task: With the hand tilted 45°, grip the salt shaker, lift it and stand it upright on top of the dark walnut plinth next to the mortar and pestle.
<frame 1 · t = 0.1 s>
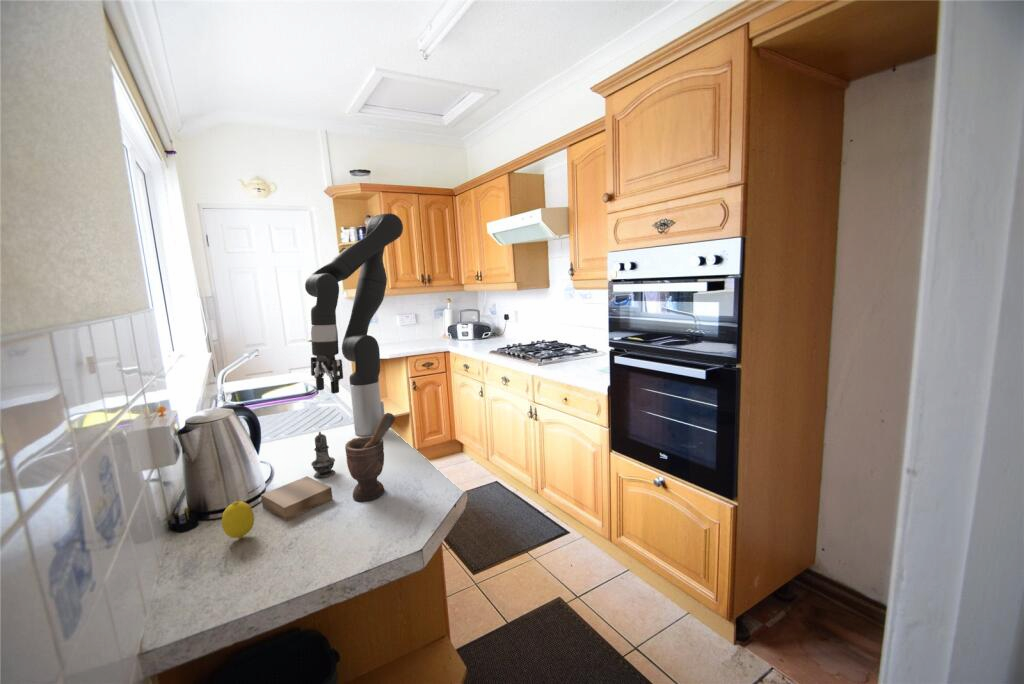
hand: (327, 391, 137), 17 cm above the countertop, tool pointing down, fingers open, 8 cm apart
mortar and pestle: (376, 493, 106), on the countertop
lemon: (241, 539, 90), on the countertop
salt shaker: (324, 475, 118), on the countertop
walnut plinth: (298, 502, 103), on the countertop
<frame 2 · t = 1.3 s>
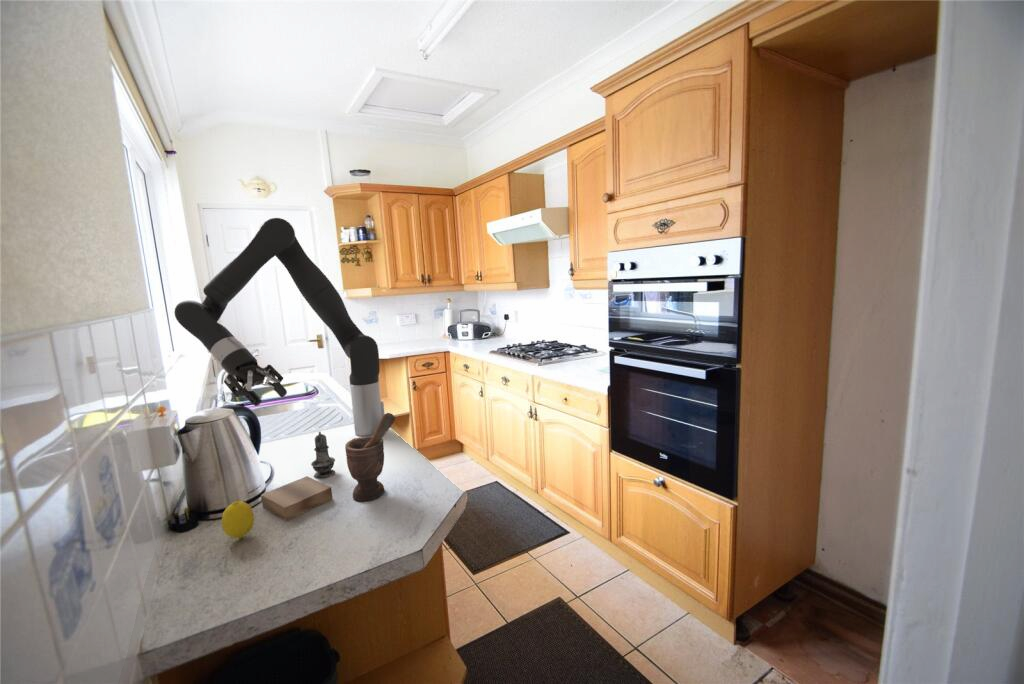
hand: (272, 399, 119), 20 cm above the countertop, tool tilted 45°, fingers open, 8 cm apart
nothing on the countertop moved.
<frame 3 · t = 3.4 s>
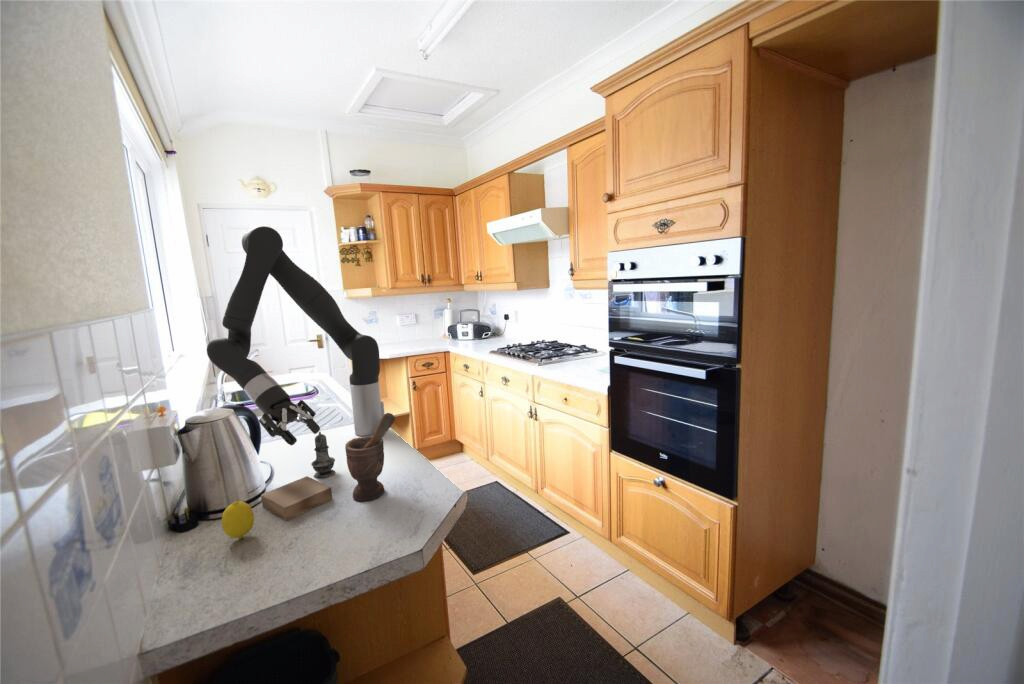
hand: (306, 437, 118), 10 cm above the countertop, tool tilted 45°, fingers open, 8 cm apart
nothing on the countertop moved.
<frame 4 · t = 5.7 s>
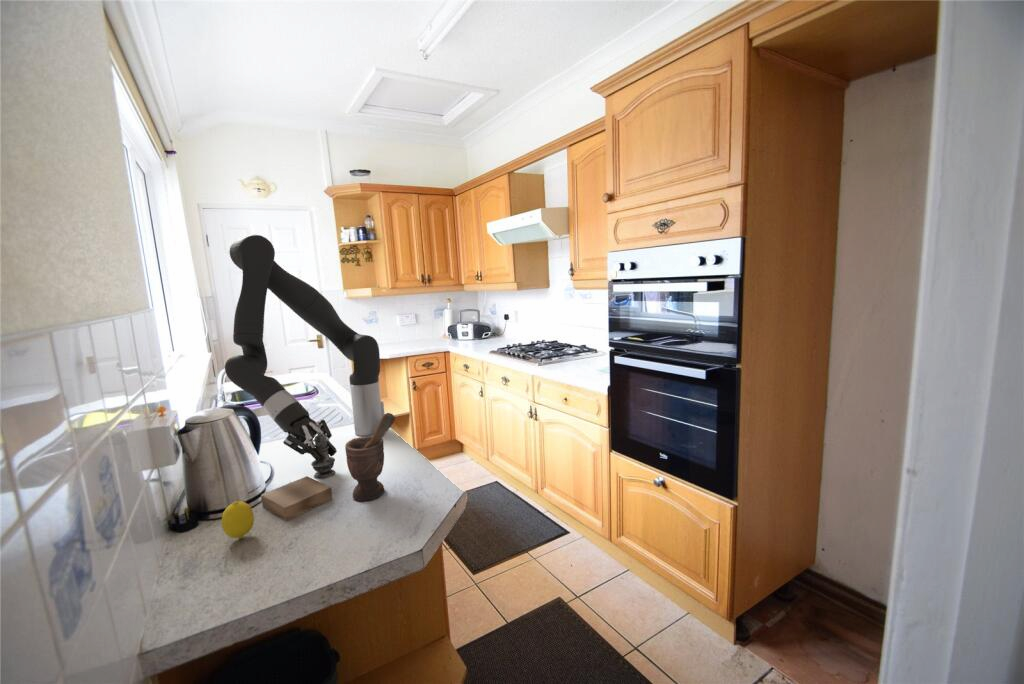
hand: (328, 456, 117), 5 cm above the countertop, tool tilted 45°, fingers closed on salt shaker, 3 cm apart
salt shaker: (324, 474, 118), on the countertop, touching gripper
everything else where it was.
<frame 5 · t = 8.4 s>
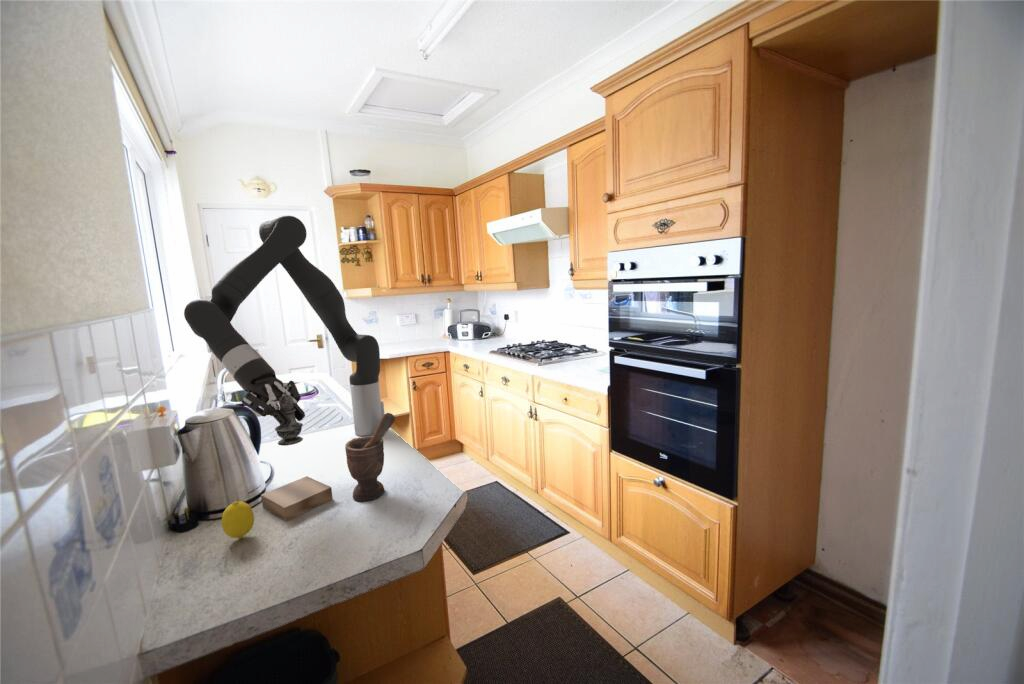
hand: (295, 421, 102), 19 cm above the countertop, tool tilted 45°, fingers closed on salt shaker, 3 cm apart
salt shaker: (290, 442, 103), point 14 cm above the countertop, touching gripper
everything else where it was.
when the fingers open (9 cm above the countertop, at t = 11.3 s): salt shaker stays where it is, resting on walnut plinth.
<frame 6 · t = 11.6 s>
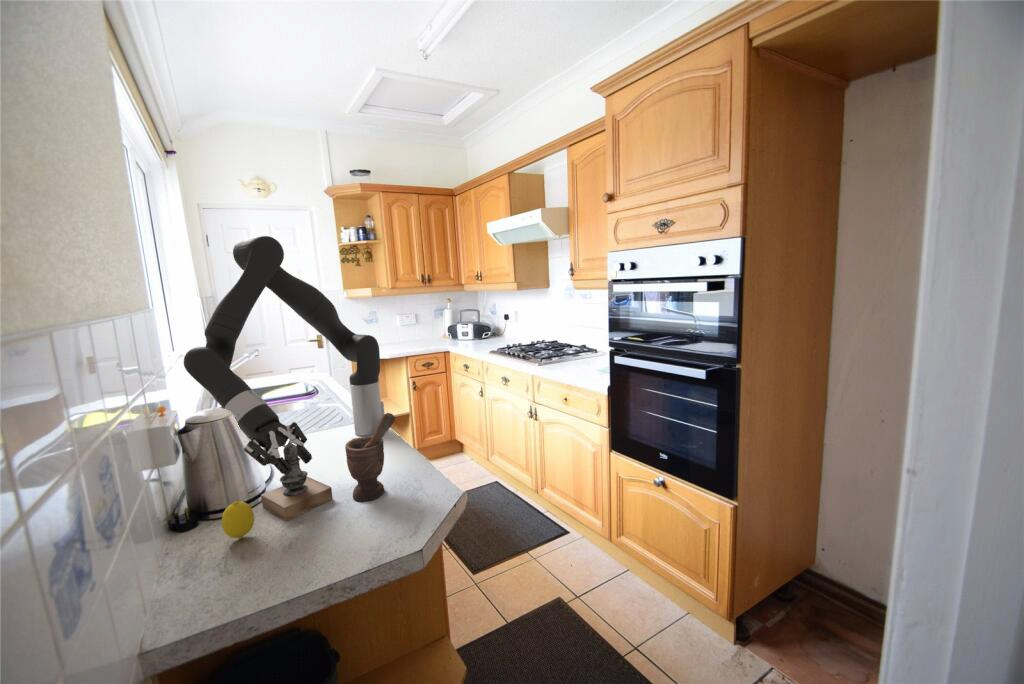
hand: (299, 466, 101), 9 cm above the countertop, tool tilted 45°, fingers open, 5 cm apart
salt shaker: (295, 491, 103), point 3 cm above the countertop, touching walnut plinth
everything else where it was.
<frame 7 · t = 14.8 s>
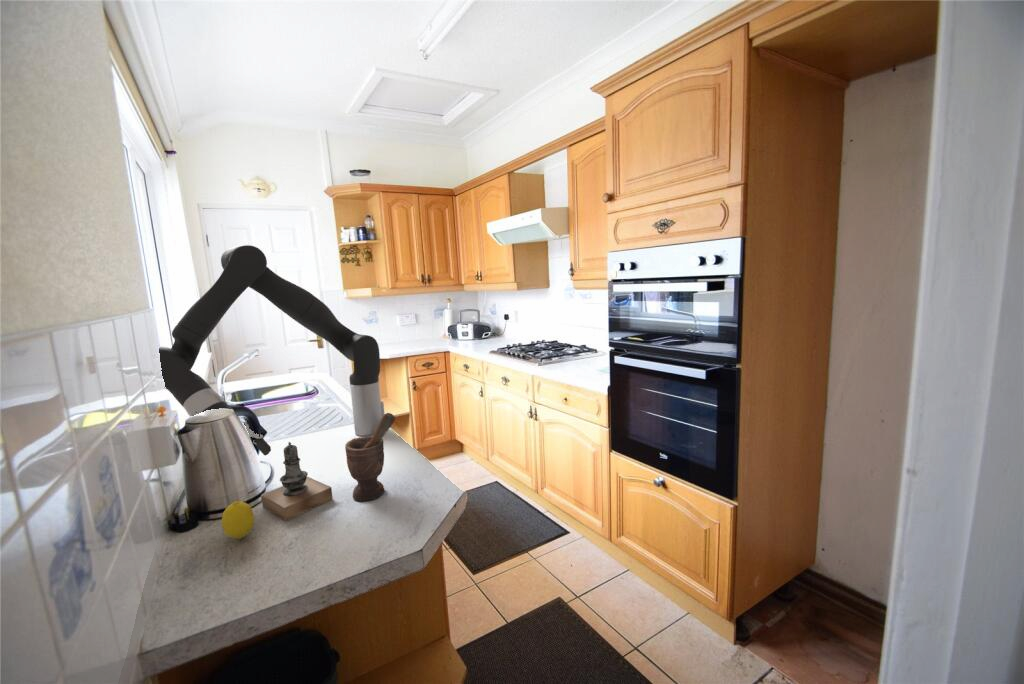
hand: (254, 459, 105), 10 cm above the countertop, tool tilted 45°, fingers open, 8 cm apart
nothing on the countertop moved.
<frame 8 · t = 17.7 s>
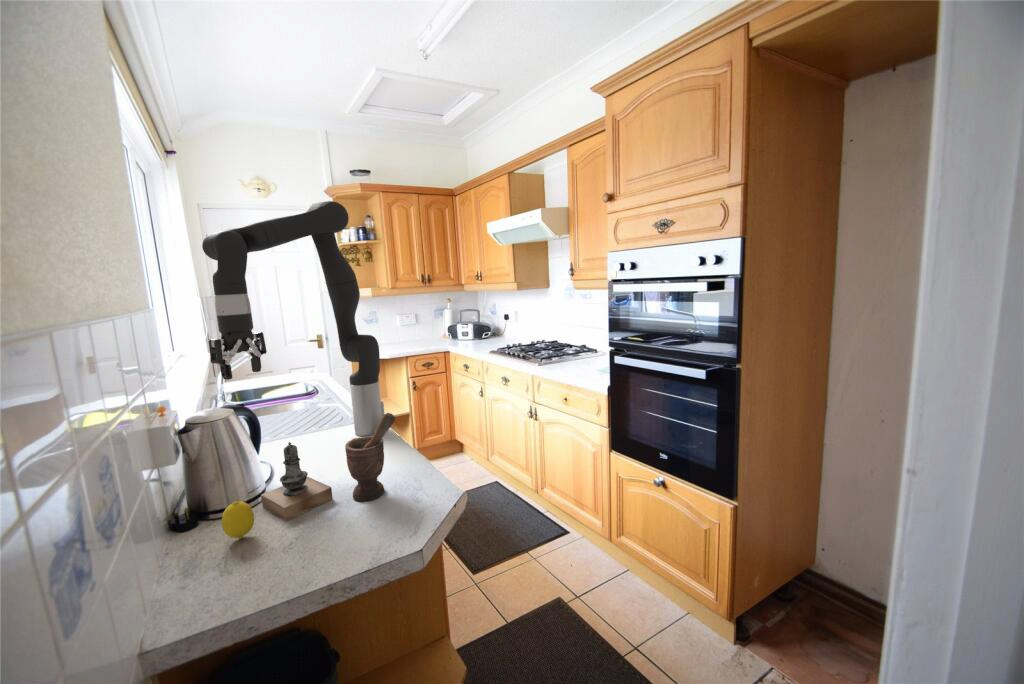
hand: (242, 375, 113), 28 cm above the countertop, tool pointing down, fingers open, 8 cm apart
nothing on the countertop moved.
at the end: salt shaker 0.2 cm off-centre on the walnut plinth, point 2.8 cm above the walnut plinth's base; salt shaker tilted 0°; the gripper is holding nothing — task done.
